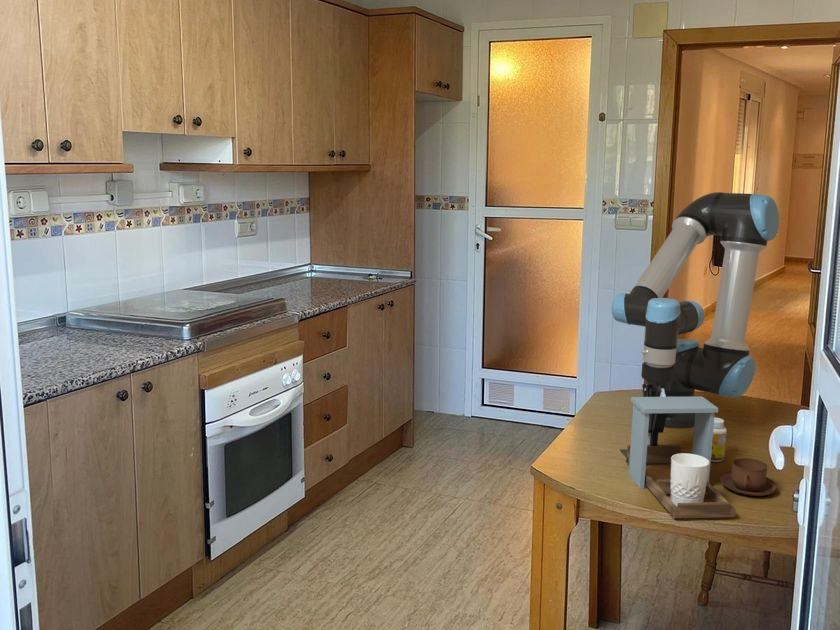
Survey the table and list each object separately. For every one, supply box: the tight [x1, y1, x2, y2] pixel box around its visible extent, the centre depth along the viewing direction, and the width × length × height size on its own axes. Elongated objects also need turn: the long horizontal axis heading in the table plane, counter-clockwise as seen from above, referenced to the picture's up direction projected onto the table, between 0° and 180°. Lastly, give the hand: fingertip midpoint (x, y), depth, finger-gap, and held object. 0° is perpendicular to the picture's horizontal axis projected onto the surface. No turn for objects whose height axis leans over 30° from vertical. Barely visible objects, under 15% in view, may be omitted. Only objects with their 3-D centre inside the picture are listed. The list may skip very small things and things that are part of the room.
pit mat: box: [619, 448, 671, 466], centre depth 209 cm, size 10×10×1 cm
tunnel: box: [628, 395, 719, 490], centre depth 192 cm, size 9×17×19 cm, turn 94°
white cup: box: [670, 452, 711, 507], centre depth 181 cm, size 8×8×10 cm
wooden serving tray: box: [625, 443, 737, 519], centre depth 189 cm, size 31×13×4 cm, turn 4°
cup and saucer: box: [719, 457, 777, 497], centre depth 190 cm, size 12×12×6 cm
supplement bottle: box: [711, 417, 728, 463], centre depth 208 cm, size 6×6×10 cm
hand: (650, 456), depth 205 cm, fingers closed
